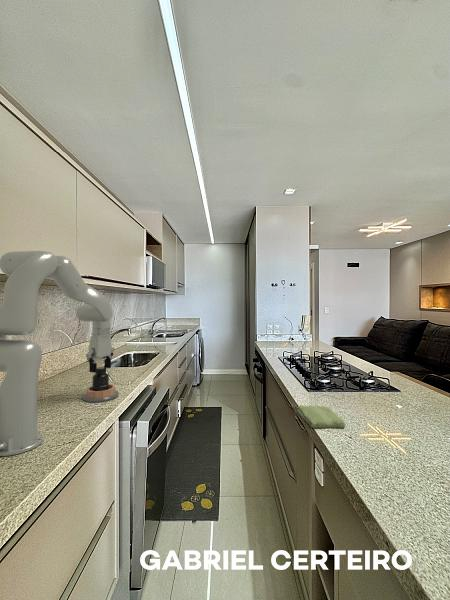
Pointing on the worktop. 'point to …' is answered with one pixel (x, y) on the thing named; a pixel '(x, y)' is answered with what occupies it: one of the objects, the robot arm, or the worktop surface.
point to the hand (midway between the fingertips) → (100, 369)
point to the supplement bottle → (100, 380)
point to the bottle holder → (100, 395)
